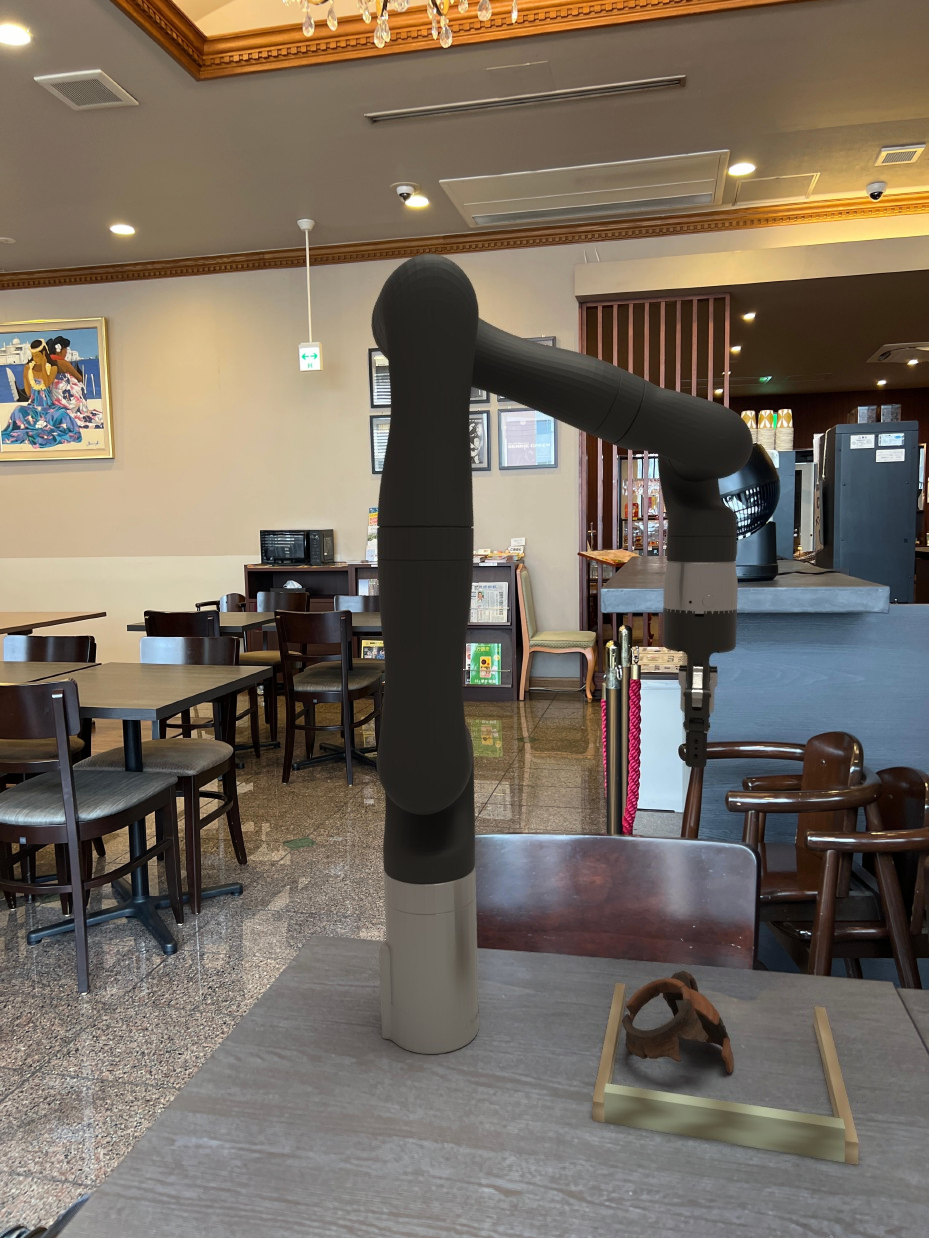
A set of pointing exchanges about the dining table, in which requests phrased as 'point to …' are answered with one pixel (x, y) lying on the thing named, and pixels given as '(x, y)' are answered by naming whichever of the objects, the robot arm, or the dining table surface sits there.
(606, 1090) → the bay
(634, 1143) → the dining table surface
